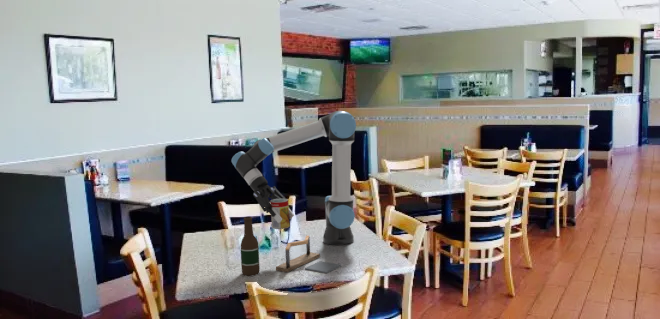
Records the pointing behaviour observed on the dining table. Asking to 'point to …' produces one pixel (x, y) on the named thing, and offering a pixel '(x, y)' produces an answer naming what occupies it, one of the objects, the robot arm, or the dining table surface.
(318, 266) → the charcoal mat
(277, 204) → the canned food
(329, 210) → the robot arm
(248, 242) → the beer bottle
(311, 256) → the wooden frame rack
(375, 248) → the dining table surface
